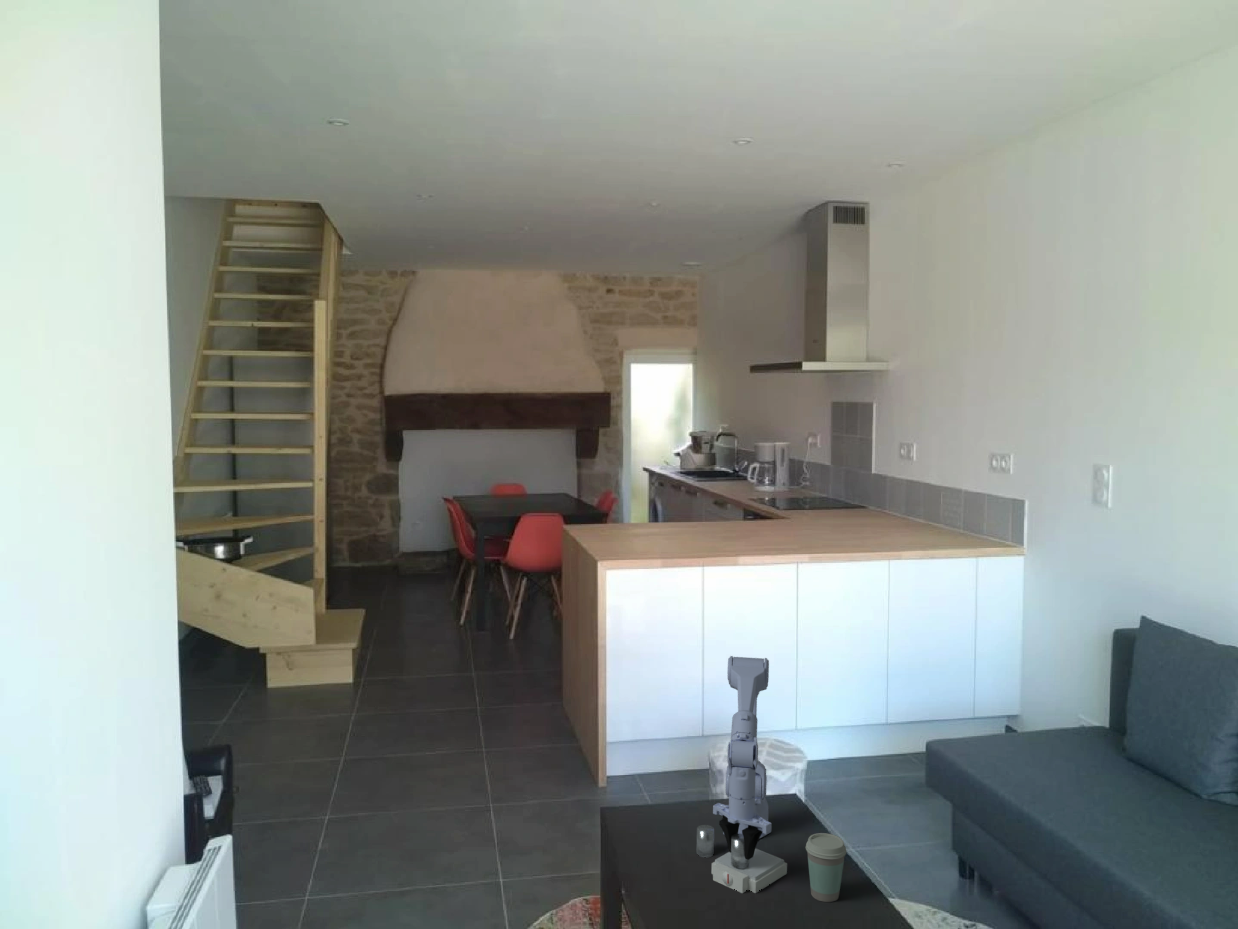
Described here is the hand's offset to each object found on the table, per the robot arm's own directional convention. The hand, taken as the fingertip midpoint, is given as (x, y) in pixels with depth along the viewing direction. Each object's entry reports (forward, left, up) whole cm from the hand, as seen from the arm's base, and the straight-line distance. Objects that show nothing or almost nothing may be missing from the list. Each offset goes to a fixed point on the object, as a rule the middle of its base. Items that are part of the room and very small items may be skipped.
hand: (740, 854), depth 206 cm
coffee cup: (-7, +17, -6) cm, 19 cm away
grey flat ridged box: (-2, 0, -6) cm, 6 cm away
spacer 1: (-4, -13, -6) cm, 15 cm away
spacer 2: (0, 0, -2) cm, 2 cm away
